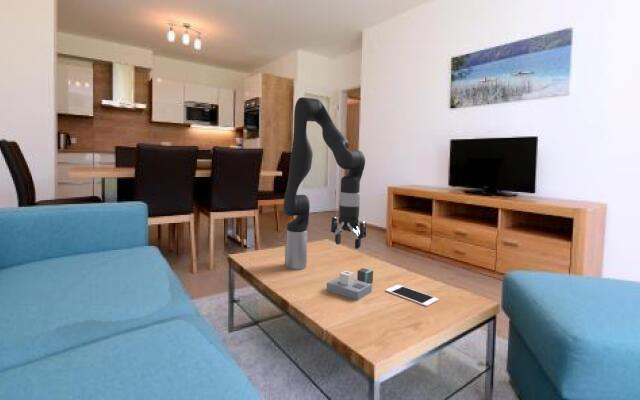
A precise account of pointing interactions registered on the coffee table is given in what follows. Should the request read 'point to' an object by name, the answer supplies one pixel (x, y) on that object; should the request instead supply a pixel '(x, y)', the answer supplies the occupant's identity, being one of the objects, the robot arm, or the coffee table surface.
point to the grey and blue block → (365, 275)
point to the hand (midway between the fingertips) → (347, 246)
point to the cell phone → (412, 295)
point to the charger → (346, 278)
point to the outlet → (350, 288)
